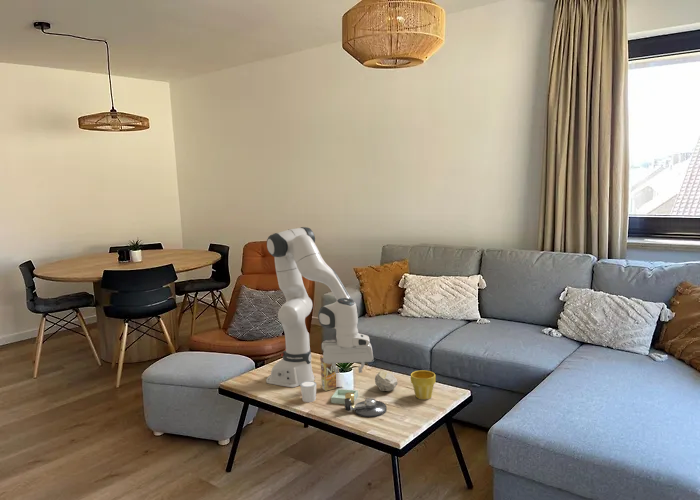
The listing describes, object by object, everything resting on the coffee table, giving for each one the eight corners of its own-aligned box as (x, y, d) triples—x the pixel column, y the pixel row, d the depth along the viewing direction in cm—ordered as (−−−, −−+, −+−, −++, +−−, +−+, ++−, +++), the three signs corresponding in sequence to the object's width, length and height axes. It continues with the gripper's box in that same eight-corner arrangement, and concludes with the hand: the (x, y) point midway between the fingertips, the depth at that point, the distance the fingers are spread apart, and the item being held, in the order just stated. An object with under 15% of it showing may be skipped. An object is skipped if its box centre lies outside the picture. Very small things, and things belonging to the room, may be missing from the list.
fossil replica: (394, 383, 238) (373, 387, 236) (392, 365, 237) (371, 369, 236) (401, 391, 226) (379, 396, 224) (399, 372, 225) (376, 377, 224)
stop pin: (344, 409, 212) (344, 395, 211) (347, 406, 215) (346, 392, 214) (353, 410, 211) (352, 396, 210) (355, 406, 214) (354, 392, 213)
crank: (374, 403, 213) (374, 394, 212) (376, 408, 209) (376, 398, 208) (344, 407, 211) (343, 397, 210) (346, 412, 207) (345, 402, 206)
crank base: (350, 415, 206) (350, 412, 206) (358, 401, 219) (358, 398, 218) (382, 418, 203) (382, 415, 203) (389, 404, 215) (389, 401, 215)
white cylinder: (317, 395, 226) (316, 380, 226) (316, 402, 220) (316, 386, 219) (301, 396, 226) (300, 381, 225) (300, 403, 219) (299, 387, 219)
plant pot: (414, 390, 228) (414, 368, 227) (438, 393, 225) (437, 371, 223) (408, 399, 219) (407, 377, 218) (432, 402, 215) (432, 380, 214)
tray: (331, 402, 219) (331, 397, 218) (337, 394, 227) (337, 388, 227) (352, 404, 216) (352, 399, 216) (358, 395, 225) (357, 390, 225)
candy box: (325, 391, 231) (324, 358, 229) (321, 388, 234) (319, 355, 232) (343, 387, 235) (341, 354, 233) (338, 384, 239) (337, 351, 237)
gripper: (320, 342, 206) (322, 376, 208) (372, 340, 206) (373, 374, 208) (321, 337, 212) (323, 370, 214) (372, 336, 212) (373, 368, 214)
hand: (348, 372), depth 211 cm, fingers open, 8 cm apart
